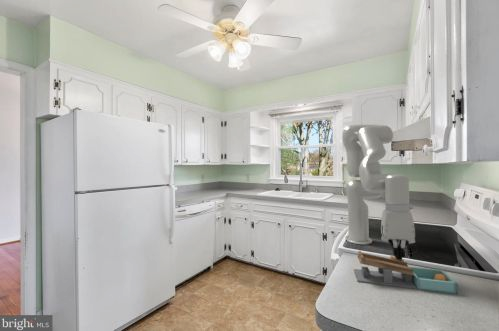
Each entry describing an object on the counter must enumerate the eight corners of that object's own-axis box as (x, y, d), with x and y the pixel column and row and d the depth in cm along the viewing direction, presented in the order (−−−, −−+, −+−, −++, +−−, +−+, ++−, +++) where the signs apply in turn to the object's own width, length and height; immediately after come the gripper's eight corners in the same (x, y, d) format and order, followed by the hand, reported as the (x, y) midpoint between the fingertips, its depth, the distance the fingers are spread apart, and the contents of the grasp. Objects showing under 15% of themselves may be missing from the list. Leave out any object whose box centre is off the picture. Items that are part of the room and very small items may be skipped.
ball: (429, 275, 77) (438, 269, 77) (437, 283, 77) (446, 277, 76) (434, 280, 74) (443, 274, 74) (442, 288, 74) (451, 282, 73)
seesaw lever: (354, 252, 92) (355, 244, 92) (400, 262, 87) (401, 253, 87) (359, 266, 79) (361, 256, 79) (414, 278, 75) (415, 268, 75)
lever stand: (353, 270, 87) (353, 257, 87) (406, 275, 82) (406, 262, 82) (357, 281, 78) (357, 267, 78) (417, 288, 73) (416, 273, 73)
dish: (406, 275, 82) (406, 266, 82) (441, 279, 79) (441, 269, 79) (417, 289, 73) (417, 279, 73) (457, 293, 70) (457, 283, 70)
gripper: (416, 207, 88) (417, 256, 87) (372, 205, 92) (373, 252, 91) (425, 210, 80) (426, 263, 80) (377, 209, 85) (378, 259, 84)
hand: (398, 257), depth 86 cm, fingers closed
